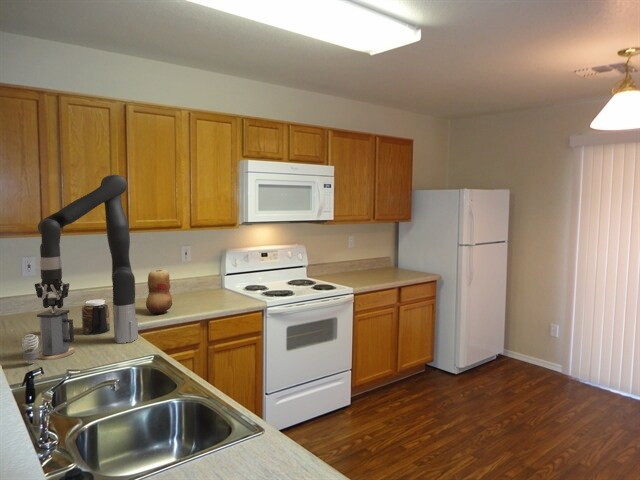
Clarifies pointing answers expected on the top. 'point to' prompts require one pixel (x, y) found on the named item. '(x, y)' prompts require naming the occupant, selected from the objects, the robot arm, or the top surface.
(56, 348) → the carafe
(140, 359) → the top surface
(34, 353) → the light bulb
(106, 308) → the jar
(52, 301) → the plunger
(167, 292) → the butternut squash
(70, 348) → the disc
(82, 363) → the top surface
